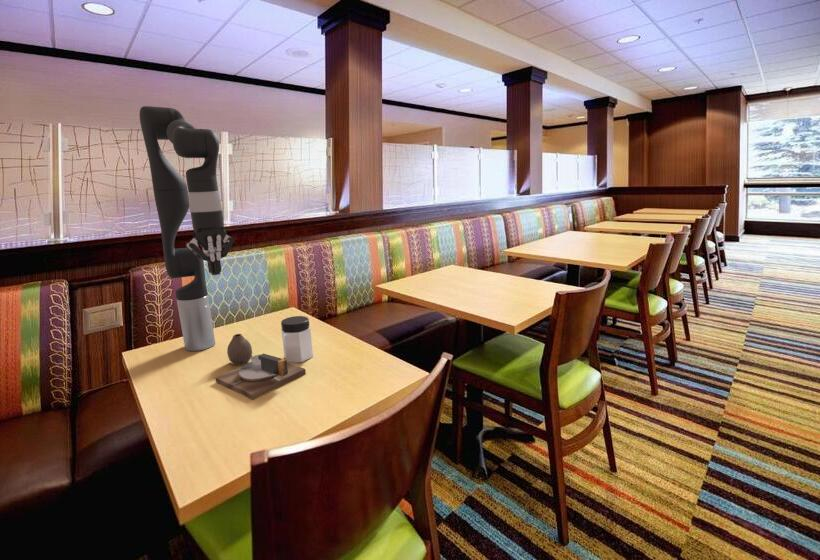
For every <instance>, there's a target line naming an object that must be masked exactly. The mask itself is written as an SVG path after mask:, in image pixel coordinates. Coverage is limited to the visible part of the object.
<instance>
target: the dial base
mask: <svg viewBox="0 0 820 560" xmlns="http://www.w3.org/2000/svg"><path fill="white" fill-rule="evenodd" d="M241 367H242V366H240V367H237V368H235V369H232V370H229V371H228V372H225V373H223V374H221V375H220V374H219V375H218V376H216V377H215V378H214V379H215V383H216V384H218V385H220V386H222V387H224V388H227V389H229V390H231V391H233V392H234V393H237V394H239V395H241V396H243V397H245V398H248V399H250V400H255V399H257V398H259V397H261V396H264V395H265V394H267V393H270V392H272V391H273V390H274V391H275V390H276V389H277V388H279V387H282V386H284V385H286V384H288V383H289V382H292V381H294V380H295V379H298V378H300V377H303V376H305V375H306V374H307V373H306V368H303V367H301V366H299V365H295V364H292V363H291V362H287V368H288V374H287V375H285V376H283V377H282V376H279V375H277V376H275V377H273V378H270V379H267V380H264V381H258V382H247V381H243V380H241V379H240V376H239V369H240V368H241Z"/></svg>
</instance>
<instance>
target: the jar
mask: <svg viewBox="0 0 820 560" xmlns="http://www.w3.org/2000/svg"><path fill="white" fill-rule="evenodd" d="M280 322H281V323H280V325H281V326H280V327H281V338H282V346H283V355H284V359H286V360H287V363H303V362H306V361H307V360H309V359H311V358H313V357H314V353H313V342H312V340H313V339H312V333H311V332H312V331H311V327H310V319H309V318H308V317H307V316H303V315H295V316H289V317H286V318H284V319H282V320H281V321H280Z"/></svg>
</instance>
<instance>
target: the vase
mask: <svg viewBox="0 0 820 560" xmlns="http://www.w3.org/2000/svg"><path fill="white" fill-rule="evenodd" d="M252 348H253V347H252V345H251V343H250V341H249V340H248V339H246V337H244V335H242V334H241V333H236V334H234V335H233V336H232V339H231V341H230V342H229V344H228V345H227V351H226V353H227V358H228V359H229V361H230V363H232V364H233V365H235V366H243V365H245V364H247V363H249V362H250V361H251V358H252V357H253V356H252V355H253V349H252Z"/></svg>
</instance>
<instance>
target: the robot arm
mask: <svg viewBox="0 0 820 560" xmlns="http://www.w3.org/2000/svg"><path fill="white" fill-rule="evenodd" d="M139 123H140V128H141V132H142V136H143V140H144V145H145V149H146V154H147V157H148V162H149V167H150V168H149V170H150V174H151V182H152V189H153V195H154V203H155V206H156V212H157V215H158V221H159V225H160V232H161V240H162V251H163V259H164V265H165V267H164V268H165V271H166V274H167V275H168V276H167V277H169V278H171V279H177V278H178V279H180V278H189V277H194V278H193V279H192V280H191V281H190V282H188V283H187V284H185V285H183V286H181V287H179V288H177V289H176V291H175V299H176V303H177V309H178V314H179V320H180V321H179V322H180V326H181V332H182V338H183V339H182V340H183V343H184V349H185V351H187V352H198V351H203V350H207V349H210V348H212V347H214V346H215V345H216V338H215V331H214V325H213V319H212V313H211V312H212V311H211V305H210V299H209V293H208V288H207V281H206V273H205V264H204V261H205V262H207V268H208V273H209V274H210V275H212V276H217V275H221V272H222V263H221V260H222V259H223V258H226V257H227V256H228V254H229V252H230V250H231V249H232V246H233V244H234V243H235V241H236V239H235V237H233V236H230V235H228V234H227V231H226V230H225V227H224V226H225V222H224V215H223V208H222V200H221V195H220V194H219V186H218V181H217V180H218V179H217V167H218V166H217V165H218V158H219V153H220V140H219V137H218V135H217V134H216V133H215V132H214V131H213V130H212V129H207V128H197V127H195V126H194V125H192V124H191V123H189V122H188V120H187V119H186V117H184V115H183V113H181V112H180V111H179V110H178V109H175V108H173V107H163V106H150V105H148V106H147V105H146V106H145V105H144V106H142V107H140V109H139ZM159 140H161V141H162V140H163V141H169V142H171V144H172V145H173V150H174V152H175V153H176V155H178V156H179V157H181V158H185V159H204V162H203V163H202V165H200V166H196V167H192V168H188V169H187V170H186V171H185V177H186V178H185V179H186V181H185V179H184V178H183V177H182V175H181V174H180V173H179V172H178V171H177V169H176V168H175V167H174V166H173V165H171V162H169V160H168V159H167V157H166V156H165V154H164V153H163V151H162V149H161V146H160V144H159ZM189 210H190V218H191V225H192V229H193V234H192V239H191V240H190V241H189V242H186V243H185V247H180V248H175V241H176V236H177V234H178V231H179V229H180V227H181V225H182V223H183V221H184V219H185V218H186V216H187V213H188V211H189ZM199 246H200V247H201V248H202V249H201V248H200V247H199Z"/></svg>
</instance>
